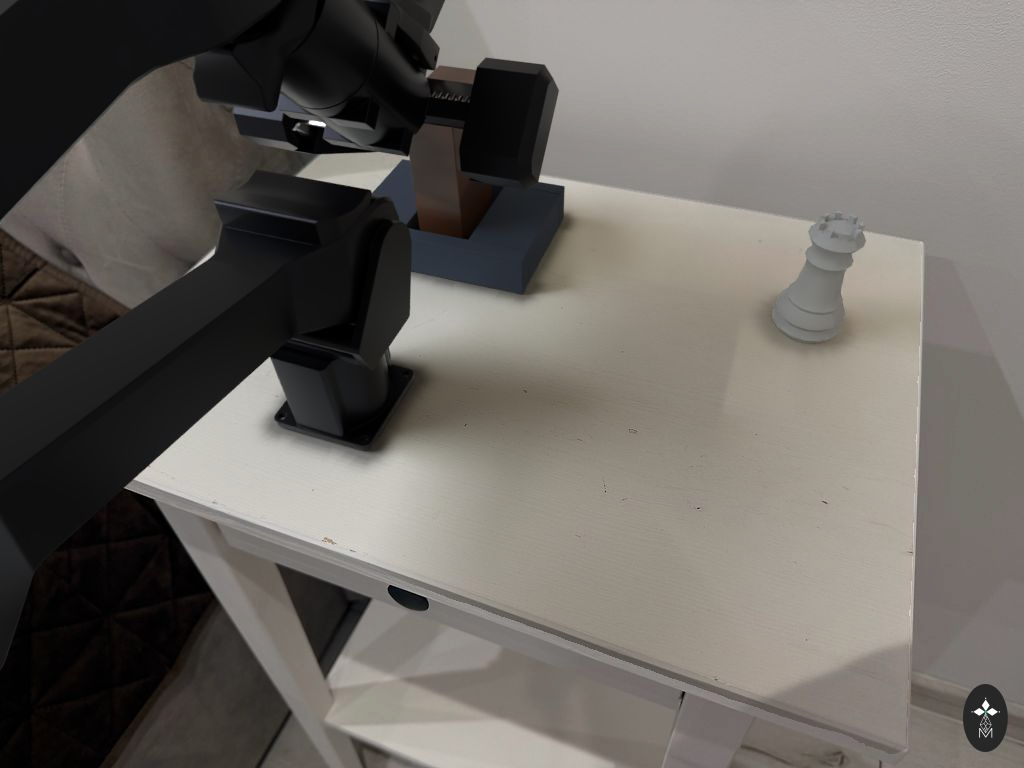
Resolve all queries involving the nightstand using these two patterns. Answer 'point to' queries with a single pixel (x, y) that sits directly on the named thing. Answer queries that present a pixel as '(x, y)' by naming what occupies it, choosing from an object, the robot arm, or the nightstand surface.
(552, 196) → the blue rectangular frame
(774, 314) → the rook chess piece
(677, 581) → the nightstand surface
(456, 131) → the brown wooden block
